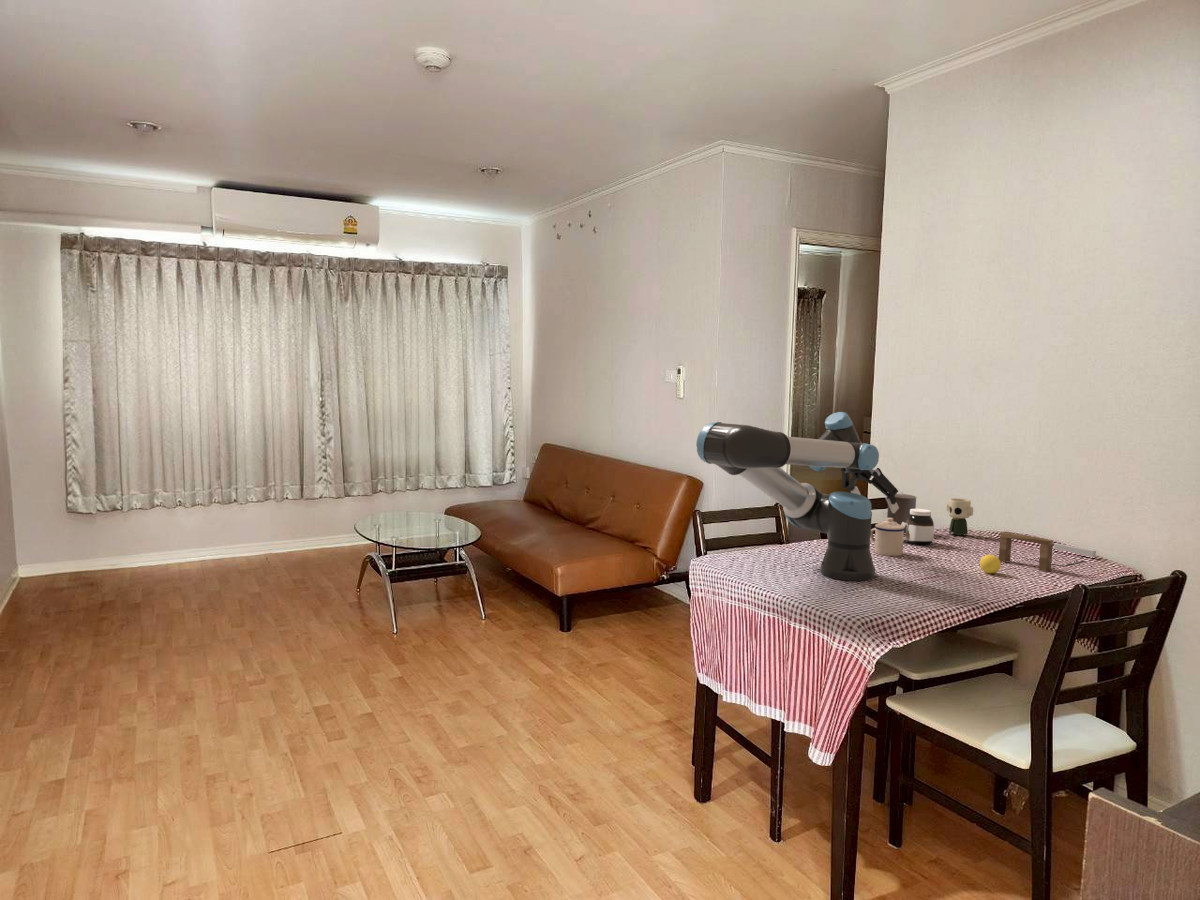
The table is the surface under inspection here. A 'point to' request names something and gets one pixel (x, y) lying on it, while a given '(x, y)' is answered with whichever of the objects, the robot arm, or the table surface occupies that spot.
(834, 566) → the robot arm
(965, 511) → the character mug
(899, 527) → the teacup with lid
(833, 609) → the table surface
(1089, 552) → the wall
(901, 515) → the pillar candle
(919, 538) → the spread jar
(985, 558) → the ball
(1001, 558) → the bridge
